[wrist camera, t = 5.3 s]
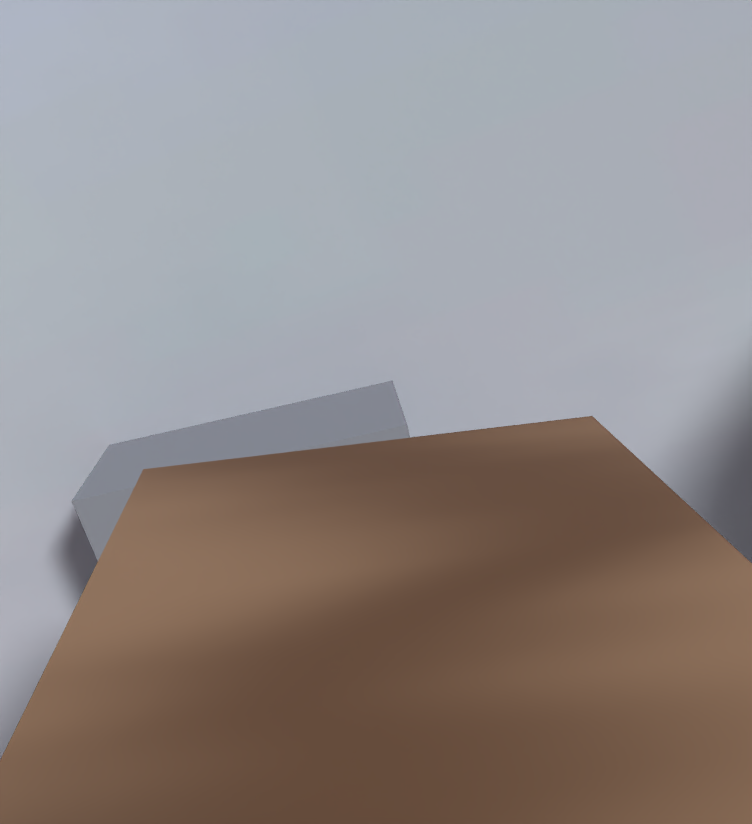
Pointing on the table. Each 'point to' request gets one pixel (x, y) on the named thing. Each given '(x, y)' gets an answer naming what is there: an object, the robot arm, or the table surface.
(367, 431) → the slate block
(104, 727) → the walnut cube
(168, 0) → the table surface
